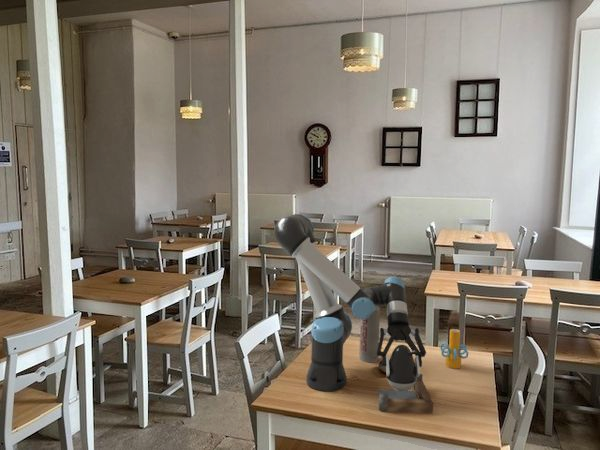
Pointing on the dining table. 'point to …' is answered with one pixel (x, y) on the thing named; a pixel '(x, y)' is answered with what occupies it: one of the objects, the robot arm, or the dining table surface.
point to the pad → (399, 394)
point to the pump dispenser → (402, 368)
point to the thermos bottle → (369, 337)
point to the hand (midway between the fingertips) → (403, 375)
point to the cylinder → (454, 350)
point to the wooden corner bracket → (408, 401)
